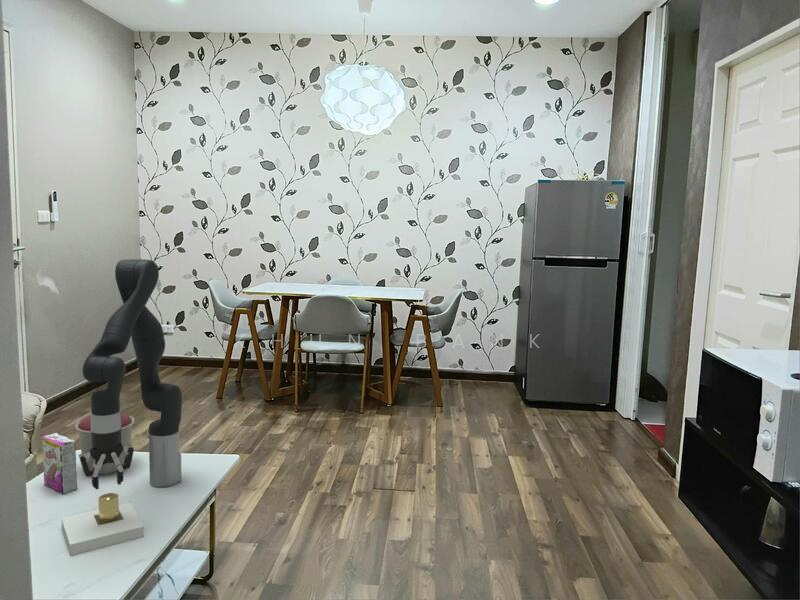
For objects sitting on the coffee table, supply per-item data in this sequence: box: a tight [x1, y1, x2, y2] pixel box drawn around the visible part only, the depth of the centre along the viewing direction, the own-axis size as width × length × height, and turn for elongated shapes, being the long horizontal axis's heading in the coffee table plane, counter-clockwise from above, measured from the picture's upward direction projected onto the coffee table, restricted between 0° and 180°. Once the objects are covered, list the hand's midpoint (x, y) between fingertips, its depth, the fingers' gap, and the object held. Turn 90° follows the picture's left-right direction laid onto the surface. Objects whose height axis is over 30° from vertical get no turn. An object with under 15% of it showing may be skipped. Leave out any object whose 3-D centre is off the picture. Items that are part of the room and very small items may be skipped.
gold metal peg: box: [98, 492, 120, 525], centre depth 172 cm, size 5×5×9 cm
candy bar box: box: [41, 432, 78, 495], centre depth 194 cm, size 11×5×16 cm, turn 58°
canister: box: [74, 412, 135, 475], centre depth 209 cm, size 18×18×21 cm
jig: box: [61, 502, 145, 556], centre depth 170 cm, size 18×16×3 cm
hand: (107, 485), depth 171 cm, fingers open, 5 cm apart
